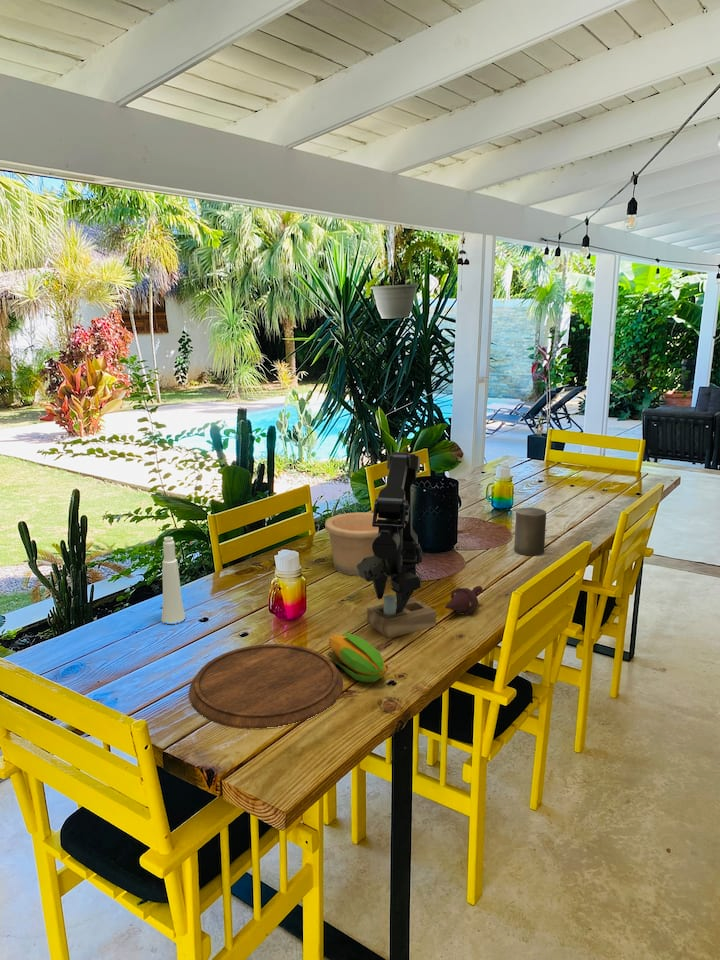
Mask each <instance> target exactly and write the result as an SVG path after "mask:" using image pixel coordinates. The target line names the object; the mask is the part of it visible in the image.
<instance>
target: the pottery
mask: <svg viewBox="0 0 720 960" xmlns="http://www.w3.org/2000/svg"><path fill="white" fill-rule="evenodd" d="M373 513H374V512H364V511H363V512H362V511H358V512H357V511H356V512H347V513H340V514H336V515H334V516H331V517H328V518H327V519H326V520H325V522H324V523H325V524H324V526H325V529H324V530H326V531H327V532H328V535H329V540H330V545H331V554H332V560H333V568H334V569H335V570H336V571H337V572H338V573H341V574H344V575H348V576H356V577H360V575H359V572H358V569H357V565H358V564H359V563H361V562H362V560H363V559H364V558H366V557H372V556H374V552H373V550H372V544H373V541H374V540H375V538H376V536H377V534H378V530H379V527H372V522H373ZM377 519H382V520H386V519H384V518H378V515H377ZM376 521H377V520H376Z"/></svg>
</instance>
